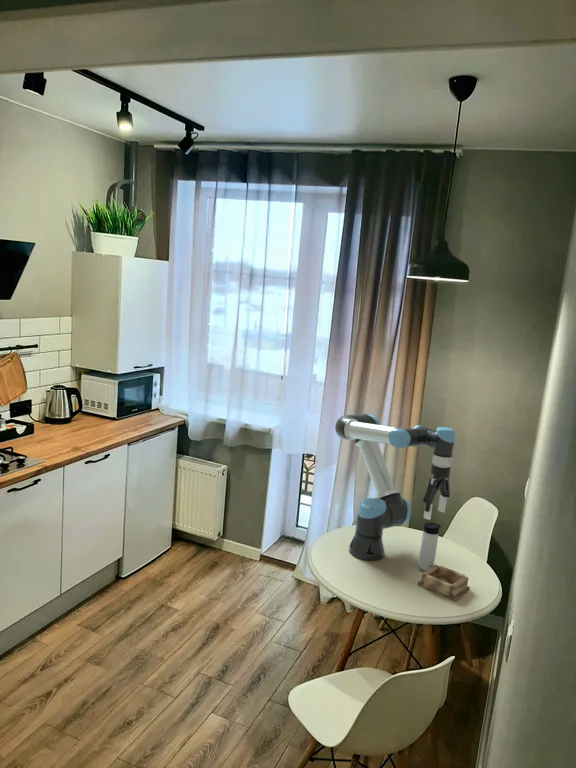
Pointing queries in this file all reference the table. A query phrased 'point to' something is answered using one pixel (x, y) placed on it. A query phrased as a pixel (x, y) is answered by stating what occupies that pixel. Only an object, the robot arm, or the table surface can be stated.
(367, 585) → the table surface
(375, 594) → the table surface
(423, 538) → the travel mug
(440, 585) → the holder
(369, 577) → the table surface
